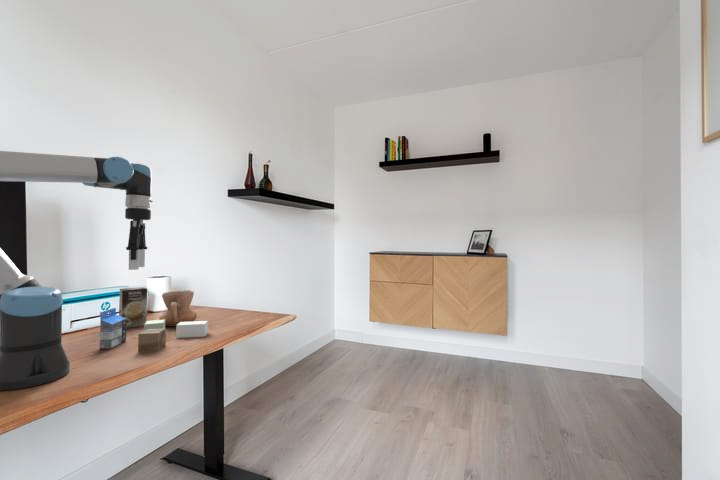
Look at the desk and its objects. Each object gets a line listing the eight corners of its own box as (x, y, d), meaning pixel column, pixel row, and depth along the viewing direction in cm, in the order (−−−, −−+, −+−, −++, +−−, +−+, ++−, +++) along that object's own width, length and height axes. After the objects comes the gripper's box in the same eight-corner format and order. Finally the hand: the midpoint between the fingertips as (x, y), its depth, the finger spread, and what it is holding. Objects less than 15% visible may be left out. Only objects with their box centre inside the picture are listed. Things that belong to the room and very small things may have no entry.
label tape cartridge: (111, 349, 111) (112, 312, 112) (99, 349, 111) (99, 312, 111) (126, 341, 120) (127, 307, 120) (115, 341, 120) (115, 307, 120)
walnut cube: (158, 351, 110) (158, 333, 110) (138, 352, 109) (138, 333, 109) (165, 345, 116) (165, 328, 116) (146, 346, 115) (147, 329, 115)
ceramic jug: (166, 320, 152) (165, 289, 152) (200, 318, 156) (200, 288, 155) (152, 331, 135) (151, 296, 134) (191, 329, 138) (190, 295, 138)
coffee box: (121, 329, 137) (121, 290, 137) (118, 326, 141) (118, 288, 141) (147, 325, 143) (147, 288, 143) (143, 322, 148) (143, 286, 148)
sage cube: (163, 338, 124) (163, 322, 124) (144, 340, 121) (144, 324, 121) (165, 334, 129) (165, 319, 129) (146, 336, 127) (147, 320, 127)
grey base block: (204, 336, 127) (204, 323, 127) (176, 338, 125) (176, 325, 125) (207, 333, 132) (208, 320, 132) (180, 334, 130) (180, 321, 130)
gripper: (145, 205, 108) (144, 270, 107) (155, 212, 130) (153, 266, 130) (117, 203, 105) (116, 271, 104) (132, 210, 127) (130, 266, 127)
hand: (137, 268), depth 117 cm, fingers open, 13 cm apart
